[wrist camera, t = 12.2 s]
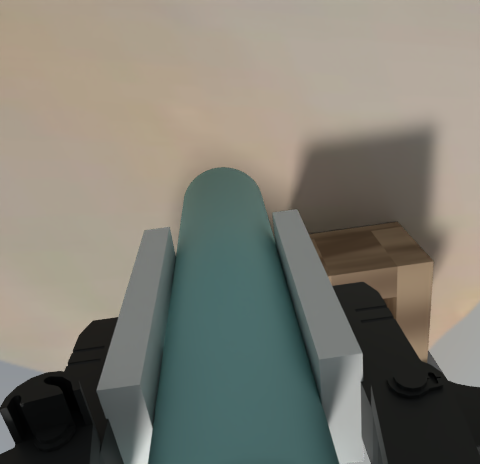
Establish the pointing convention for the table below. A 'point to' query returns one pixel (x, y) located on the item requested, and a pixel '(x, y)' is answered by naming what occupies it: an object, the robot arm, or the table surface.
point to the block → (384, 272)
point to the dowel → (234, 341)
